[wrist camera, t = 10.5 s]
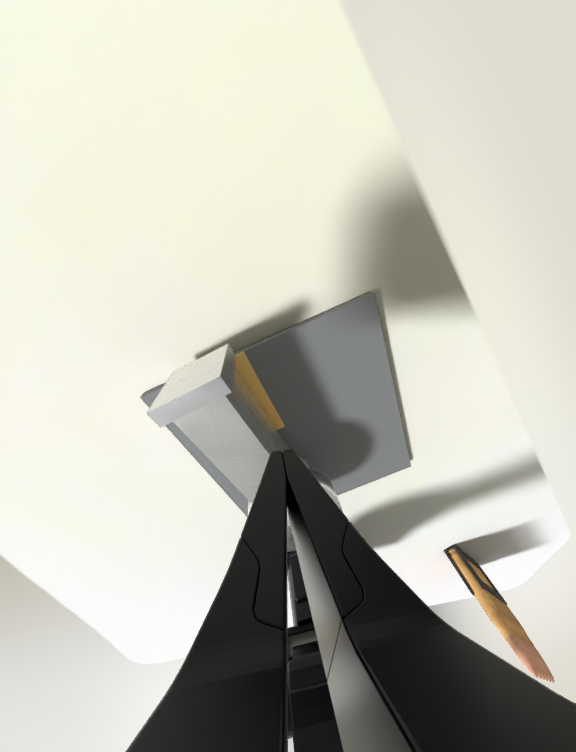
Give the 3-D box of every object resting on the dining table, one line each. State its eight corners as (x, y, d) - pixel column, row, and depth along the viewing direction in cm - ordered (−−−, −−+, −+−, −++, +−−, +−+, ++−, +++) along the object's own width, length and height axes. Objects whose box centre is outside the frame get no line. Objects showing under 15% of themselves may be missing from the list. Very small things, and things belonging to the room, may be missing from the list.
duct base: (407, 461, 24) (426, 487, 22) (256, 521, 25) (257, 552, 23) (370, 291, 16) (394, 299, 13) (143, 393, 17) (123, 419, 14)
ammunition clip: (443, 550, 35) (526, 680, 24) (454, 543, 34) (544, 673, 24) (468, 569, 39) (547, 685, 29) (478, 564, 39) (563, 680, 28)
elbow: (337, 482, 22) (355, 531, 18) (271, 511, 23) (275, 564, 19) (249, 332, 14) (249, 361, 11) (153, 382, 15) (119, 426, 11)
